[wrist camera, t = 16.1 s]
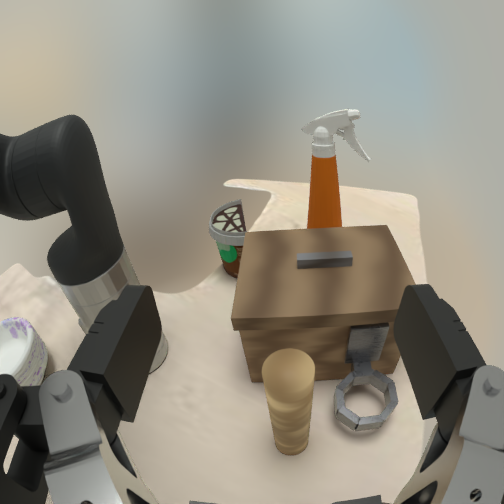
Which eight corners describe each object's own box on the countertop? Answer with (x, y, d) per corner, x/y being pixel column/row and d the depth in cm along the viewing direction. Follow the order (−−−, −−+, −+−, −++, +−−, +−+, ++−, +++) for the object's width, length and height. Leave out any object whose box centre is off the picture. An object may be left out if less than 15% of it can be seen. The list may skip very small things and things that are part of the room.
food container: (217, 248, 61) (207, 203, 55) (247, 243, 61) (240, 197, 55) (218, 290, 51) (206, 240, 45) (255, 284, 51) (247, 233, 45)
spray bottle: (357, 274, 50) (367, 115, 34) (299, 261, 55) (289, 110, 39) (366, 251, 55) (374, 107, 39) (312, 240, 59) (306, 103, 44)
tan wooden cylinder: (274, 455, 28) (260, 392, 18) (275, 427, 31) (263, 349, 21) (307, 454, 27) (316, 391, 18) (307, 426, 30) (313, 347, 21)
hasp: (336, 433, 27) (346, 401, 22) (331, 368, 34) (337, 325, 29) (396, 425, 26) (419, 391, 21) (384, 363, 33) (399, 320, 28)
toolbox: (248, 384, 36) (228, 309, 28) (256, 301, 48) (244, 224, 40) (396, 375, 33) (427, 297, 25) (375, 295, 45) (387, 217, 37)
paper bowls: (62, 338, 45) (39, 306, 40) (54, 412, 33) (21, 383, 28) (4, 352, 42) (-19, 323, 37) (-9, 418, 30) (-40, 391, 25)
